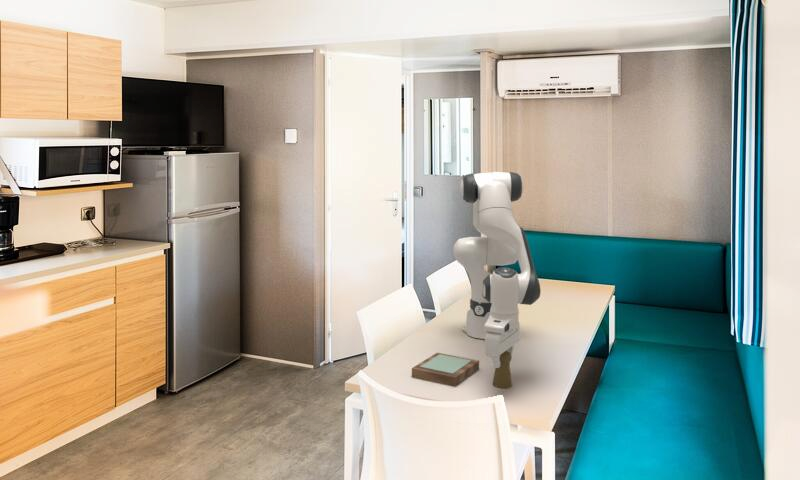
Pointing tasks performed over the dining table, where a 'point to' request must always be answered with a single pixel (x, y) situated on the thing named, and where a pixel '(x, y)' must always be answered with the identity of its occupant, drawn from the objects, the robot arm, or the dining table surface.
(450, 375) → the wooden tray
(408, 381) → the dining table surface
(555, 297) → the dining table surface
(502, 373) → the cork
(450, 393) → the dining table surface
